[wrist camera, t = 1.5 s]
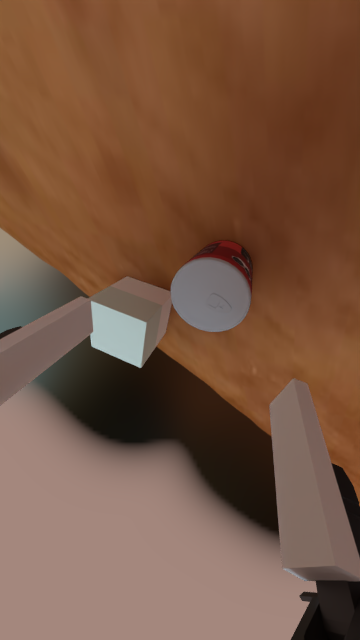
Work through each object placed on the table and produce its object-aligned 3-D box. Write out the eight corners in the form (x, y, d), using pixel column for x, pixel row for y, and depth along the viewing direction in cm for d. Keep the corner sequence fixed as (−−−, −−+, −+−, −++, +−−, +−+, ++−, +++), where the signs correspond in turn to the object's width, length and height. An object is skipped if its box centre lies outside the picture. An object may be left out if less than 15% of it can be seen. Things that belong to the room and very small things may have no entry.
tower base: (174, 292, 32) (162, 305, 28) (165, 332, 37) (154, 347, 33) (127, 275, 33) (110, 285, 29) (125, 316, 38) (110, 329, 34)
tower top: (162, 305, 28) (146, 322, 24) (154, 347, 33) (140, 368, 29) (110, 285, 29) (86, 299, 25) (110, 329, 34) (91, 346, 30)
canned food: (243, 298, 28) (238, 341, 19) (193, 286, 30) (167, 321, 21) (261, 244, 24) (264, 269, 15) (200, 234, 26) (172, 251, 17)
